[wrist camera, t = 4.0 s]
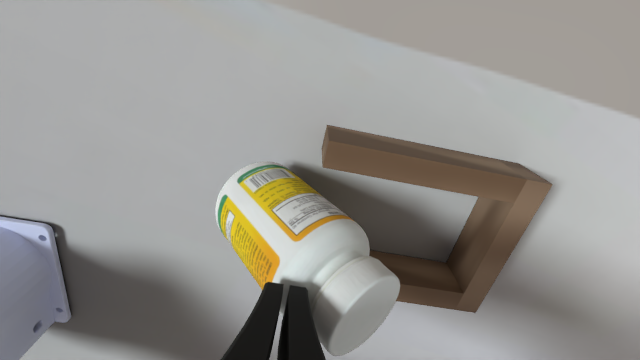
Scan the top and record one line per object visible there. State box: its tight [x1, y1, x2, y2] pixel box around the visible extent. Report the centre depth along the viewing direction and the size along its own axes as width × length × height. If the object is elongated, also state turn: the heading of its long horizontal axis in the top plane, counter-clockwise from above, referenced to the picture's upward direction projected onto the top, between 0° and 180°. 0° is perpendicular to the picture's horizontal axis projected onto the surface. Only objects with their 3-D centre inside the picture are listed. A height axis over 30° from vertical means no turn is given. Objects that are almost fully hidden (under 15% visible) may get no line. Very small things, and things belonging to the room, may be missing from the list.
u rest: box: [322, 125, 552, 313], centre depth 19 cm, size 10×12×3 cm
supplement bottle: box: [215, 162, 400, 356], centre depth 15 cm, size 5×5×10 cm
